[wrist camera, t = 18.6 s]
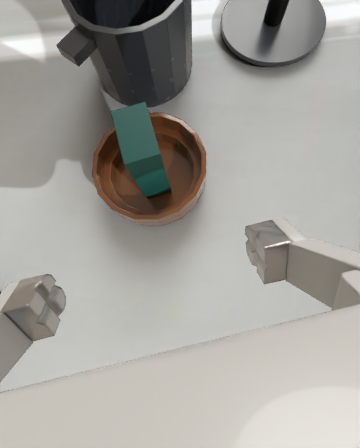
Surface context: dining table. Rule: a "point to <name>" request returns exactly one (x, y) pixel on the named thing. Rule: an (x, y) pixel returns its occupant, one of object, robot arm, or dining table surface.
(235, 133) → the dining table surface
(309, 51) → the lid
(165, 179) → the block
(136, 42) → the pot
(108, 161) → the bowl
